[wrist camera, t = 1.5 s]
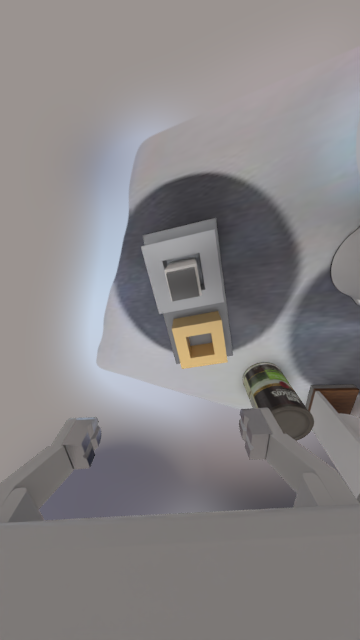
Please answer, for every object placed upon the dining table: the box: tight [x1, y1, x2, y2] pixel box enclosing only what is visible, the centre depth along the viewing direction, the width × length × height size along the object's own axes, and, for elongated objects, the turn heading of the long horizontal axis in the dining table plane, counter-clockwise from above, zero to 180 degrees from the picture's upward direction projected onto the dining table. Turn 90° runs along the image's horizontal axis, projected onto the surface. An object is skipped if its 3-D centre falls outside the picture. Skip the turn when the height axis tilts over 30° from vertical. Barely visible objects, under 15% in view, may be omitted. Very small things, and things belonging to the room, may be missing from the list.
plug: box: [164, 257, 202, 301], centre depth 26 cm, size 4×4×10 cm
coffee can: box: [243, 363, 314, 441], centre depth 44 cm, size 10×10×14 cm
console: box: [141, 218, 233, 369], centre depth 36 cm, size 14×30×14 cm, turn 12°
